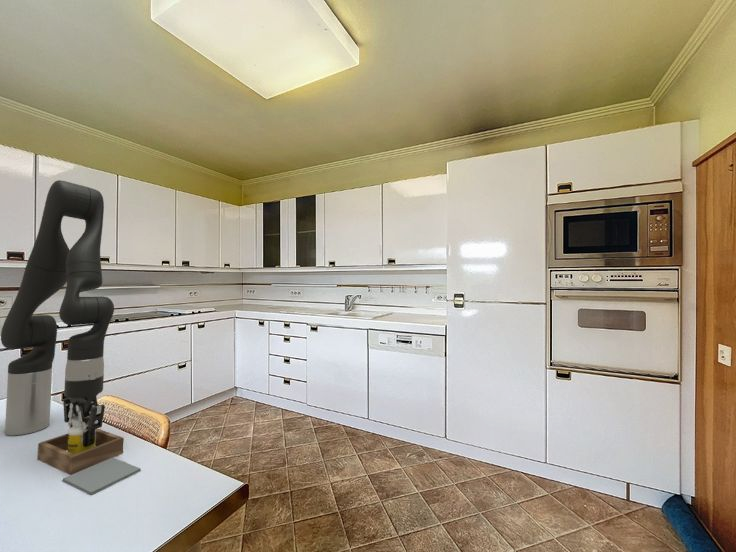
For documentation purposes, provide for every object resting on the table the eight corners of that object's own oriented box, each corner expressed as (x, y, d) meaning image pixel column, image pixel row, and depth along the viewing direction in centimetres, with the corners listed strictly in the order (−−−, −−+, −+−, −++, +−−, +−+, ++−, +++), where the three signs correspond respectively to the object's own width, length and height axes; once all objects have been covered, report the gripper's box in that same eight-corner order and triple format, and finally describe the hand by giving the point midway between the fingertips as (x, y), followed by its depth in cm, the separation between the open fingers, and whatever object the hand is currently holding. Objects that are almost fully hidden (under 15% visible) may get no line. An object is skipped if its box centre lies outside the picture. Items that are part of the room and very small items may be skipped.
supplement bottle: (62, 458, 83) (64, 418, 83) (88, 448, 88) (90, 411, 88) (72, 464, 80) (74, 423, 81) (99, 454, 85) (101, 415, 85)
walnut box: (37, 459, 82) (38, 443, 82) (89, 440, 92) (90, 426, 92) (71, 475, 76) (71, 457, 76) (123, 453, 86) (123, 437, 86)
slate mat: (62, 481, 74) (62, 478, 74) (112, 459, 83) (112, 457, 83) (91, 495, 69) (91, 492, 69) (140, 471, 78) (140, 468, 78)
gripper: (51, 375, 84) (47, 442, 84) (83, 383, 78) (80, 456, 78) (86, 368, 91) (83, 430, 90) (118, 375, 85) (115, 442, 85)
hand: (81, 442), depth 84 cm, fingers closed on supplement bottle, 5 cm apart
